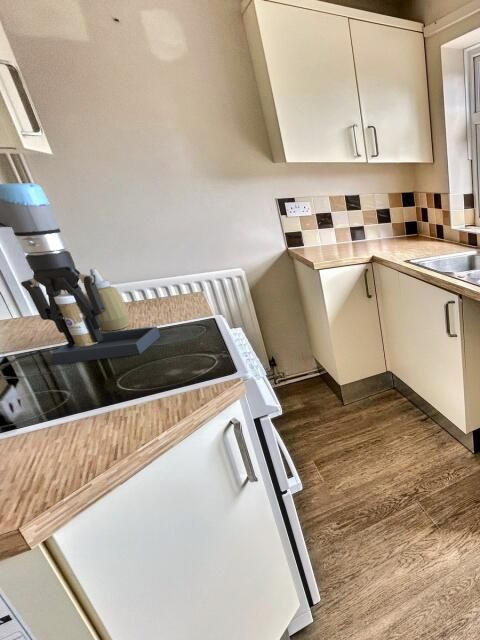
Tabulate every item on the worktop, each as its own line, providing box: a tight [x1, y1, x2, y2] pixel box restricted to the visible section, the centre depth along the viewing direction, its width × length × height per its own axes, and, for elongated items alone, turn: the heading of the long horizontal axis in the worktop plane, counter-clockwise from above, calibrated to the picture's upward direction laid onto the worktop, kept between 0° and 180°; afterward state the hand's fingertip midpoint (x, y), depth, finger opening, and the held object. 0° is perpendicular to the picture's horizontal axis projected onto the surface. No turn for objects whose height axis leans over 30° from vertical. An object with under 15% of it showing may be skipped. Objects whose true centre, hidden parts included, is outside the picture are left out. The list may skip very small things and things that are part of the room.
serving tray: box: [50, 326, 161, 365], centre depth 111 cm, size 17×13×3 cm
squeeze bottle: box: [86, 268, 131, 332], centre depth 124 cm, size 8×8×18 cm
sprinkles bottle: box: [54, 292, 98, 347], centre depth 107 cm, size 5×5×13 cm
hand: (86, 341), depth 109 cm, fingers closed on sprinkles bottle, 4 cm apart
